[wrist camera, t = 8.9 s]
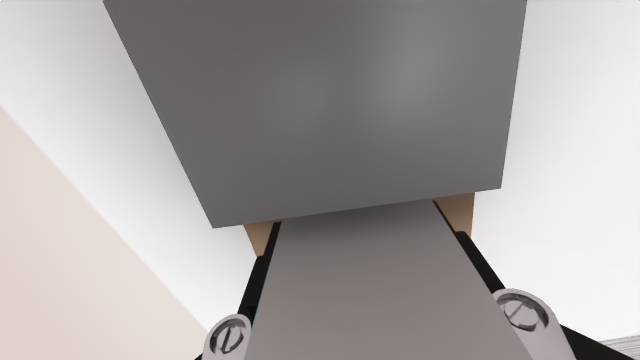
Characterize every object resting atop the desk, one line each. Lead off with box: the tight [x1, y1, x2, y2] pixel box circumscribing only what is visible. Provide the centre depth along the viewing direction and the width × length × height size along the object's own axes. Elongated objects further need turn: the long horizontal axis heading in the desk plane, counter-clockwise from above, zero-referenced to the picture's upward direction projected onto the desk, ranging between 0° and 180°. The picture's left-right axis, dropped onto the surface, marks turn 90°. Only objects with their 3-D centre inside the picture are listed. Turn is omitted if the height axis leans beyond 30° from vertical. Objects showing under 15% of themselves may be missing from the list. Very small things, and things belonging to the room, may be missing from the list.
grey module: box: [244, 198, 533, 360], centre depth 8 cm, size 6×5×7 cm
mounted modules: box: [103, 0, 527, 228], centre depth 10 cm, size 18×7×5 cm, turn 11°
